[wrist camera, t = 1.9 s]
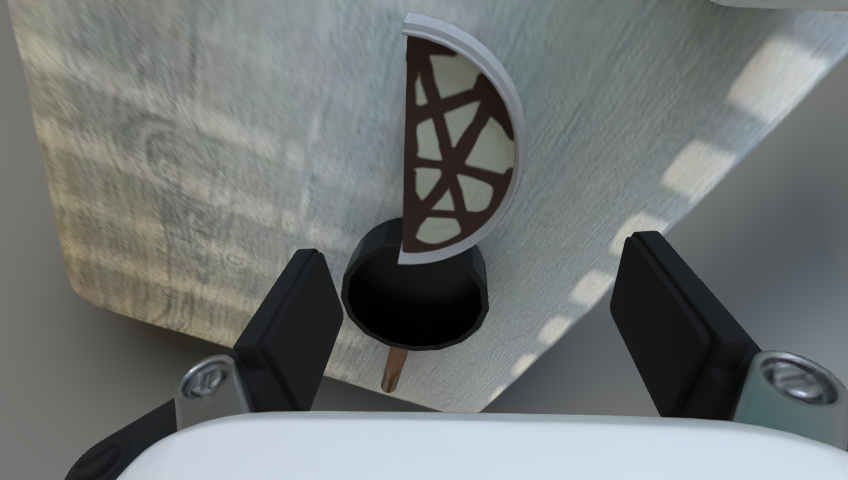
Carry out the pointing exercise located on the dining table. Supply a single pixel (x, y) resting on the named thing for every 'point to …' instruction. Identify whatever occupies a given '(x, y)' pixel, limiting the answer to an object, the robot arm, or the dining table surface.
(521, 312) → the dining table surface
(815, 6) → the cylindrical container
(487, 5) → the dining table surface
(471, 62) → the food container
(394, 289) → the pan
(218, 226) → the dining table surface
